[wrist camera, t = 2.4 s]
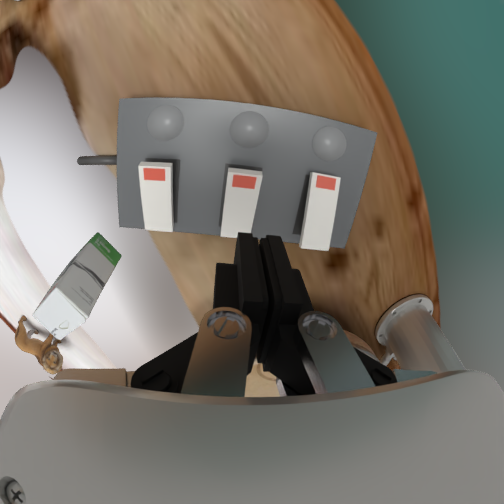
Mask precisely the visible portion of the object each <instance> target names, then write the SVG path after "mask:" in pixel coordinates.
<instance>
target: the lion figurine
mask: <svg viewBox="0 0 504 504" xmlns="http://www.w3.org/2000/svg"><path fill="white" fill-rule="evenodd" d="M26 320H27V319H26V317H25V316H22V317H21V319H20V321H18V323H19V326H18V328H17V330H16V333H15V342H16V344H17V346H18V347H19V348H20V349H21V350H22V351H24V352H28V353H31V354H33V355H35V356H36V358H37V359H38V362H39V363H40V364H41V365H42V366H43V368H44V369H45V370H46V371H47V372H49V373H50V374H56V373H58V372H59V371H60V370H61V368H62V363H63V357H62V355H61V354H60V352H59V349H58V348H57V344H58V343H61V340H58V339H56V340H55V341H54V342H53V344H52V345H51V342H52V338H53V337H54V336H53V335H52V334H51V333H50V335H49V336H48V338H47V339H46V340H45V341H44V342H42V341H41V340H39V339H35V338H32V339H31V335H32V334H33V333H35V334H38V331H37V330H36V329H33V330H30V331H28V333H27V332H26V329H25V327H24V325H23V321H26Z"/></svg>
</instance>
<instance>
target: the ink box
mask: <svg viewBox="0 0 504 504" xmlns="http://www.w3.org/2000/svg"><path fill="white" fill-rule="evenodd" d="M120 258H121V254H119V252H117V250H116V249H115V248H114V247H113V246H112V245H111V244H110V243H109V242H108V241H107V240H105V238H104V237H103V236H102V235H100V234H99V233H96V234H95V235H94V237H92V238H91V239H90V240H89V241H88V243H87V244H86V245H85V246H84V247H83V248H82V249H81V250H80V251H79V252H78V253H77V254H76V256H75V257H74V258H73V259H72V260H71V261H70V263H69V264H68V265H67V266H66V268H65V269H64V270H63V272H62V273H61V274H60V275H59V277H58V278H57V279H56V281H55V282H54V284H53V285H52V286H51V288H50V289H49V291H48V292H47V294H46V295H45V297H44V298H43V300H42V301H41V303H40V304H39V306H38V307H37V309H36V310H35V312H34V313H33V317H34V318H35V319H36V320H37V321H38V322H39V323H40V324H41V325H42V326H44V327H45V328H46V329H47V330H48V331H49V332H50V333H51V334H52V335H53V336H54V337H55V338H57V339H58V340H62V339H63V338H64V337H65V336H67V335H68V334H69V333H71V332H72V331H73V330H75V329H76V328H78V327H79V326H80V325H82V324H83V323H85V321H86V319H87V318H88V317H89V315H90V313H91V311H92V309H93V307H94V305H95V303H96V301H97V299H98V297H99V295H100V293H101V291H102V290H103V287H104V286H105V284H106V283H107V281H108V279H109V277H110V276H111V274H112V272H113V270H114V268H115V267H116V265H117V263H118V261H119V260H120Z"/></svg>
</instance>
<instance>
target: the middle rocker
mask: <svg viewBox="0 0 504 504" xmlns="http://www.w3.org/2000/svg"><path fill="white" fill-rule="evenodd" d="M262 177H263V174H262V171H254V170H246V169H237V168H228V175H227V183H226V191H225V199H224V208H223V217H222V226H221V236H220V237H231V238H237V235H238V232H244V233H251V229H252V224H253V220H254V215H255V210H256V205H257V201H258V196H259V191H260V186H261V182H262Z"/></svg>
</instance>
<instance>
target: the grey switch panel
mask: <svg viewBox="0 0 504 504" xmlns="http://www.w3.org/2000/svg"><path fill="white" fill-rule="evenodd" d="M376 136H377V133H376V132H373V131H370V130H367V129H364V128H360V127H357V126H354V125H350V124H347V123H343V122H339V121H335V120H332V119H328V118H323V117H319V116H315V115H310V114H306V113H301V112H296V111H291V110H286V109H280V108H275V107H268V106H262V105H255V104H248V103H240V102H231V101H221V100H208V99H192V98H126V99H120V100H119V113H118V130H117V156H84V157H83V156H82V157H79V158H78V160H77V162H78V164H79V165H117V193H118V212H119V225H120V227H127V228H139V229H145V224H144V217H143V209H142V200H141V191H140V180H139V168H138V165H139V164H140V162H163V163H173V216H174V229H173V231H175V232H186V233H197V234H208V235H219V236H221V226H222V217H223V208H224V199H225V191H226V183H227V175H228V168H237V169H246V170H254V171H262V174H263V177H262V182H261V186H260V191H259V196H258V201H257V205H256V210H255V215H254V220H253V224H252V229H251V233H252V234H253V237H257V238H258V239H261V238H265V237H266V235H275V236H281V238H282V241H283V242H290V243H300V238H301V231H302V225H303V219H304V212H305V206H306V199H307V192H308V185H309V178H310V172H314V173H320V174H325V175H330V176H335V177H340V178H341V179H340V186H339V193H338V199H337V206H336V212H335V218H334V224H333V229H332V235H331V240H330V246H329V247H337V248H345V245H346V242H347V239H348V236H349V233H350V230H351V227H352V224H353V221H354V217H355V214H356V211H357V208H358V204H359V201H360V197H361V194H362V190H363V187H364V183H365V180H366V176H367V172H368V168H369V165H370V161H371V157H372V153H373V148H374V144H375V140H376Z"/></svg>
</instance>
